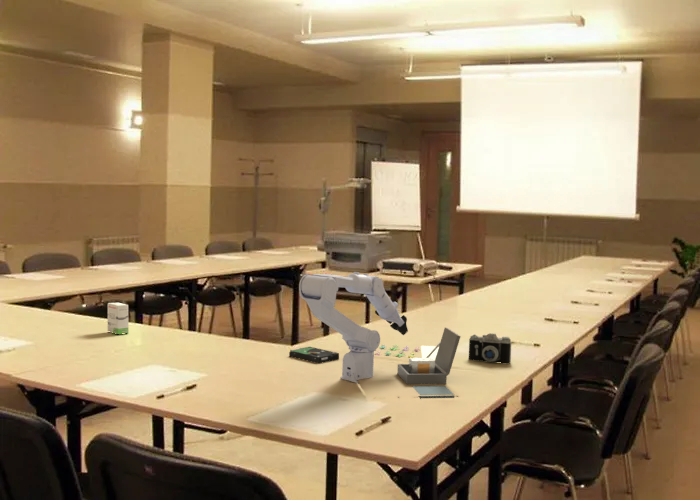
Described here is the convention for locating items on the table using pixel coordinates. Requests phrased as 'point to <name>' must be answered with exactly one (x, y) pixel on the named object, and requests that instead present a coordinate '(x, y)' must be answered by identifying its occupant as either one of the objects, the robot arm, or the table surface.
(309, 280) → the robot arm
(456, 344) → the case
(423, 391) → the mat
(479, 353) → the camera
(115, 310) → the ink box
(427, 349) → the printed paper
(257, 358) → the table surface
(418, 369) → the module
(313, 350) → the disk drive
